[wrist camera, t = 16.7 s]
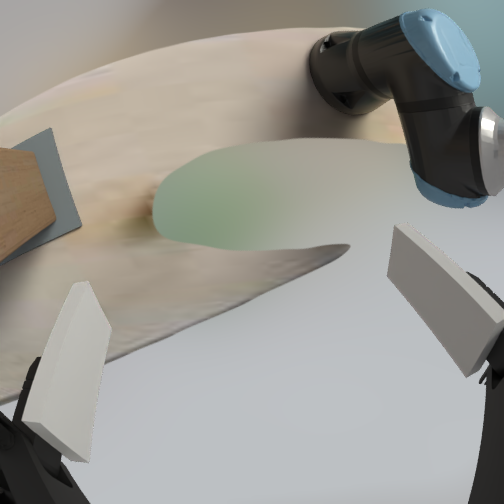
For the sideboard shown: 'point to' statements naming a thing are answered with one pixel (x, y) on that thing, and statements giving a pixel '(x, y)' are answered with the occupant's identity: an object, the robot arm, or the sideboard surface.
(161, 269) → the sideboard surface
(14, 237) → the wooden block
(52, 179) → the mat
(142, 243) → the sideboard surface
